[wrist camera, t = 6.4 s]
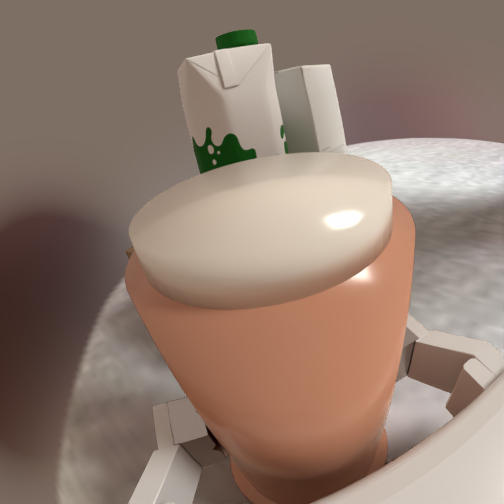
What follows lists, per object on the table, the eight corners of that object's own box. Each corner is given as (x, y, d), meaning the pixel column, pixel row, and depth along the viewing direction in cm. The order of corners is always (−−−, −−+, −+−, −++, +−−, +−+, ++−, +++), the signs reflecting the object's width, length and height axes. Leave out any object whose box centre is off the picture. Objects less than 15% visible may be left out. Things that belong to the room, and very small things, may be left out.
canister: (286, 381, 15) (231, 149, 10) (405, 420, 11) (451, 148, 6) (207, 477, 11) (40, 252, 5) (338, 545, 7) (389, 413, 2)
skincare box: (352, 183, 38) (334, 63, 31) (325, 201, 35) (302, 64, 27) (302, 177, 44) (282, 72, 37) (272, 193, 41) (247, 76, 33)
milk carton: (312, 219, 31) (274, 21, 22) (227, 248, 30) (172, 36, 20) (278, 197, 39) (244, 40, 29) (209, 219, 37) (165, 56, 28)
